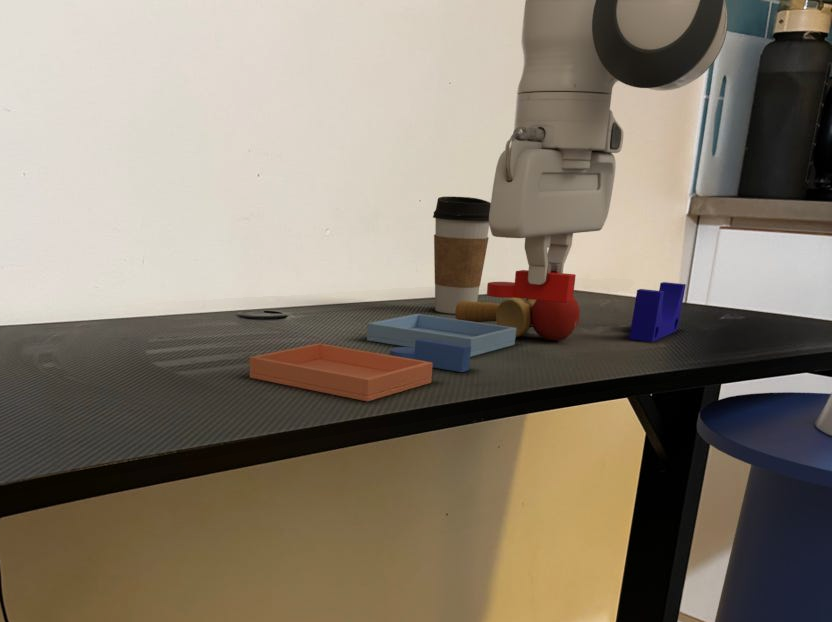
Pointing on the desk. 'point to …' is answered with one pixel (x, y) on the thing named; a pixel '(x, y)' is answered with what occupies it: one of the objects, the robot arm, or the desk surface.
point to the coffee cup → (459, 250)
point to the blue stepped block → (437, 354)
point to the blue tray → (441, 332)
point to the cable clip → (657, 312)
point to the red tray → (341, 371)
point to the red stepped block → (535, 288)
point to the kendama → (525, 316)
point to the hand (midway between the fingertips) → (544, 282)
